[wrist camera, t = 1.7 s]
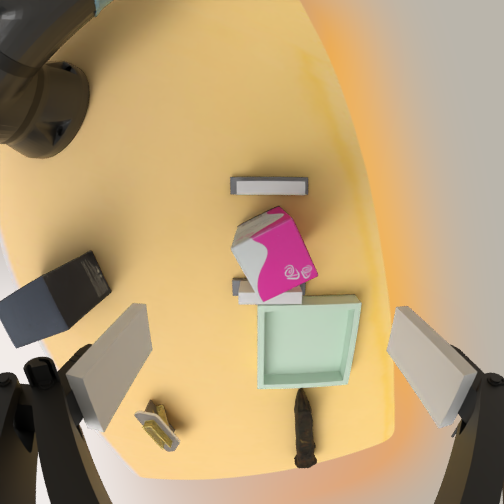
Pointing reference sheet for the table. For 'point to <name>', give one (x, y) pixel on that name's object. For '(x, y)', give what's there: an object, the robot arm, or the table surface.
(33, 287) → the small box
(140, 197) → the table surface
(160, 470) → the table surface
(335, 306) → the parts tray
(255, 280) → the supplement box
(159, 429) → the platform
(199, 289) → the table surface
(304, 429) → the hand tool
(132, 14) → the table surface
